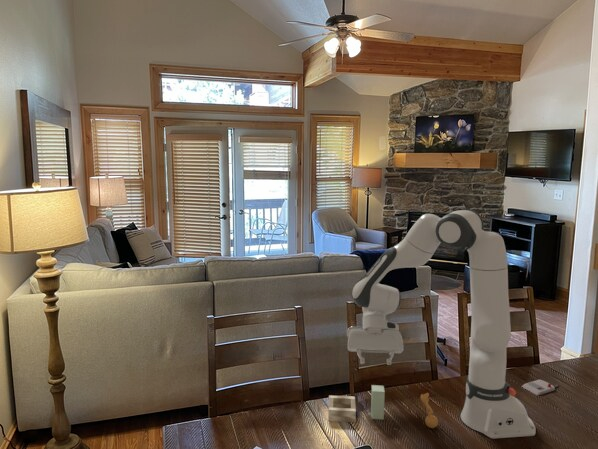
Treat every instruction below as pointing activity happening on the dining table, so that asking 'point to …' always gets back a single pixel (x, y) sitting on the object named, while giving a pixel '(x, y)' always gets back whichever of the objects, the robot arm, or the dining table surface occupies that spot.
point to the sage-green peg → (377, 402)
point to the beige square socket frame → (342, 409)
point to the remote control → (539, 387)
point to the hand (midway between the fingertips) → (375, 363)
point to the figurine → (430, 419)
